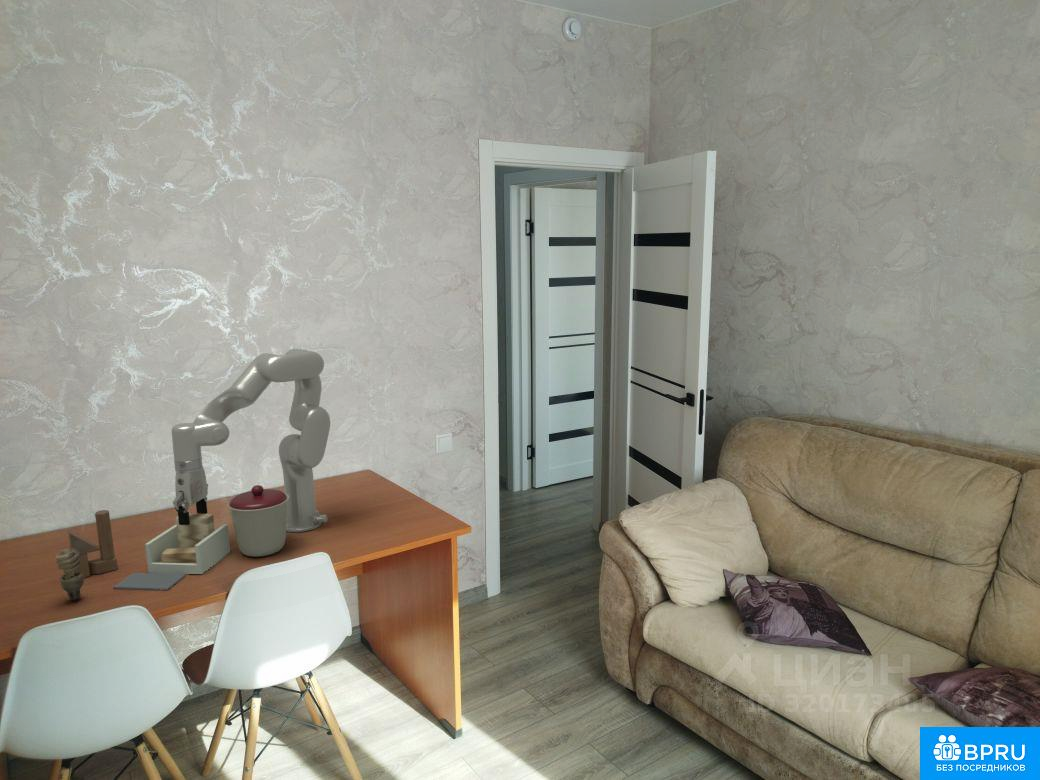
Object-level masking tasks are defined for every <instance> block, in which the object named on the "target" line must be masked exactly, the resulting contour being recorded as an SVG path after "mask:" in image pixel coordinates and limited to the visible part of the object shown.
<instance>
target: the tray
mask: <svg viewBox="0 0 1040 780" xmlns="http://www.w3.org/2000/svg"><path fill="white" fill-rule="evenodd" d="M229 534H230V533H229V526H228V523H227V524H226V523H224V524H222V525H221V526H219V527H218V528H216V529H215V531H214V532H213V533H211V534H210V535H209V536H207V537H206V538H204V539H203V540H202V541H200V542H199V543H198V544H196V545H195V553H196V562H197V564H190V563H159V562H161V561H162V555H161V554H162V553H163V552H164V551H165V550H166V549H175V548H179V542H178V533H177V525H176V524H174V525H173V526H171V527H170V528H168V529H167V530H165V531H163V532H161V533H160V534H158V535H157V536H155V537H154V538H152V539H151V540H149V541H148V542H146V543H144V548H145V555H146V565H147V572H148V573H153V574H203V573H204V572H205V571H206V572H208V571H209V570H210V569H211V568H212V567H214V566H215V565H216V564H218V563H219V561H220V562H221V560H222V559H224V558H225V557H226V556H227V555H228V554H230V553H231V546H230V545H231V544H230V536H229ZM213 565H214V566H213ZM210 567H211V568H210ZM208 569H209V570H208ZM206 572H205V573H206ZM205 573H204V574H205ZM204 574H203V575H204Z"/></svg>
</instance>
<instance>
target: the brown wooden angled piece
mask: <svg viewBox="0 0 1040 780" xmlns="http://www.w3.org/2000/svg"><path fill="white" fill-rule="evenodd" d="M94 517H95V523H96V531H97V539H98V540H97V541H98V545H97V544H95V543H93V542H92V541H90V540H88V539H86V538H84V537H82V536H81V535H78V534H77V533H75V532H74V531H72V530H70V529H68V530H67V533H68V540H69V546H70V547H69V548H75V549H78V550H79V551H80V555H79V556H80V563H81V564H80V566H79V567H78V568H77V572H81V573H82V574H83V579H85V578H88V577H90V576H91V575H100V574H105V573H108V572H112V571H116V570H118V569H119V567H118V559H117V557H116V554H115V548H114V540H113V531H112V524H111V517H110V511H109V509H108V510H107V509H103V510H98V511H96V512H94ZM98 551H99V553H100V557H99V558H96V559H91V560H89V558H88V554H89V553H93V552H94V553H95V552H98Z"/></svg>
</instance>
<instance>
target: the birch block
mask: <svg viewBox="0 0 1040 780" xmlns="http://www.w3.org/2000/svg"><path fill="white" fill-rule="evenodd" d="M214 518H215V517H214V514H212V513H211V514H210V513H207V514H197V513H189V519H190V524H189V525H179V521H178V516H176V517H175V521H176V522H175V523H176V524H175V525H177V533H178V542H179V548H192V547H195V545H196V544H198V543H199V542H200V541H202V540H203V539H204V538H206V537H207V536H209V535H210V534H211V533H213V532H214V531H215V530H216V529H215V521H214Z"/></svg>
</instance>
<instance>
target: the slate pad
mask: <svg viewBox="0 0 1040 780" xmlns="http://www.w3.org/2000/svg"><path fill="white" fill-rule="evenodd" d="M185 576H187V575H185V574H153V573H146V572H145V573H144V572H132V573H131V574H130V575H128V576H127V577H126V578H124V579H122V580H121V581H120V582H117V584H115V585H114V586H113V587H112V588H113V590H136V591H160V589H162V590H168V589H169V588H170V587H172V586H173V585H174V584H176V583H177V582H178V581H179V582H181V581H182V580H183V579H184V578H185ZM181 579H182V580H181ZM180 580H181V581H180ZM179 582H178V583H179ZM178 583H177V584H178ZM177 584H176V585H177ZM174 586H175V585H174ZM174 586H173V587H174ZM173 587H172V588H173ZM145 589H146V590H145ZM155 589H157V590H155ZM170 589H171V588H170ZM170 589H169V590H170ZM169 590H168V591H169Z"/></svg>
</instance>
